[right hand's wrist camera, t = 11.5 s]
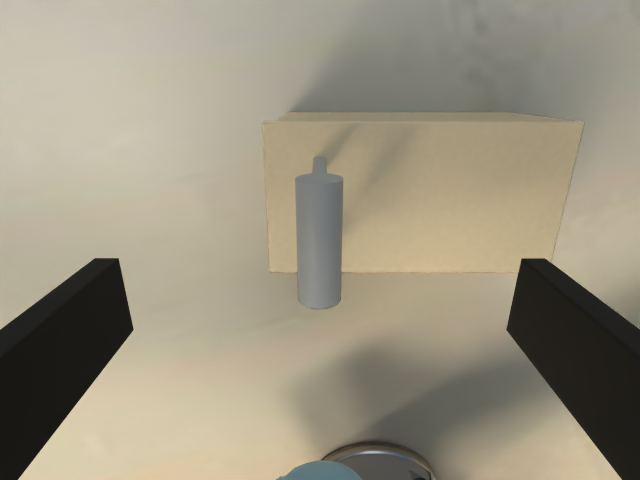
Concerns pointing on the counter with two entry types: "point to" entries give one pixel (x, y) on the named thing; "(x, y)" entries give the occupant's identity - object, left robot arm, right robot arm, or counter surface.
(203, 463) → the counter surface
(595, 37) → the counter surface
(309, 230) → the lid
